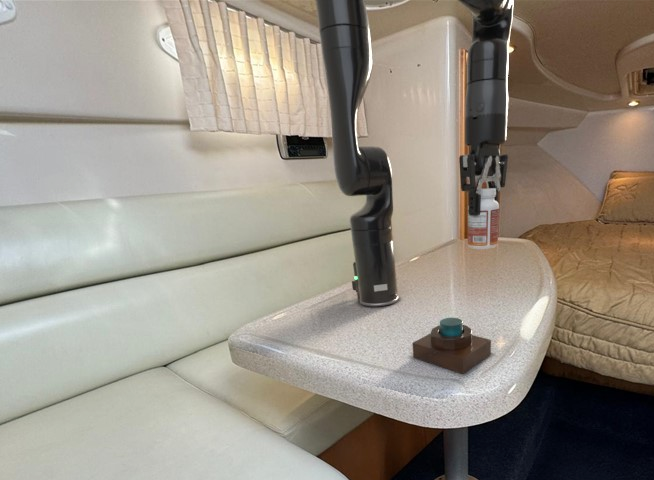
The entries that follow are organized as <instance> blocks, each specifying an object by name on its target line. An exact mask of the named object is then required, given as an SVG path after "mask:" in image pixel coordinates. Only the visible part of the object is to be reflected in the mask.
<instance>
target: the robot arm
mask: <svg viewBox="0 0 654 480" xmlns="http://www.w3.org/2000/svg"><path fill="white" fill-rule="evenodd" d="M457 1H458V2H459V3H460V4H462V5H463V7H465V8H466V9H467V10H468V11H470V13H471V19H472V25H471V27H472V28H471V29H472V30H471V44H470V46H469V47H468V50H467V57H466V91H465V92H466V94H465V100H464V101H465V102H464V144H465V146H467V147H470V149H469V154H462V155H459V158H458V160H459V161H458V163H459V177H460V190H461V192H466V195H468V206H469V215H473V216H477V215H480V206H481V194H480V192H481V189H483V184H484V183H485V185H486V189H488V188H495V189H496V195H495V197H494V200H495V201H497V202H498V203H499V192H500V191H501V189H502V188H505V187H506V182H507V181H506V179H507V172H508V171H507V169H508V160H509V156H508V153H507V154H501V152H500V145H504V144H505V143H506V141H507V130H508V128H507V127H508V109H509V91H508V77H509V76H508V75H509V44H510V37H511V29H512V23H513V14H514V0H457ZM315 6H316V7H315V8H316V15H317V22H318V23H317V24H318V33H319V40H320V48H321V55H322V62H323V67H324V72H325V73H324V74H325V80H326V88H327V95H328V96H327V97H328V105H329V112H330V126H331V141H332V157H333V170H334V175H335V180H336V183H337V186H338V188H339V190H340V191H341V193H342V194H343V195H345V196H346V197H360V196H361V197H363V196H365V197H366V198H365V203H364V204H363V206H362V207H361V208H360V209H359V210H358V211H356V212H354V213H352V214H351V215H350V217H349V226H350V232H351V240H352V248H353V256H354V262H353V263H352V267H353V274H354V280H352V281H351V287H352V291H355V292H356V296H357V301H358V302H359V304H360V305H362V306H365V307H373V308H374V307H387V306H389V305H392V304H395V303H397V302H398V301H399V295H398V283H397V282H398V281H397V270H396V260H395V247H394V236H393V224H392V219H393V215H394V214H393V213H394V198H393V197H394V196H393V193H394V192H393V191H394V190H393V172H392V165H391V161H390V158H389V155H388V153H387V152H386V151H385V150H384V148H382V147H380V146H359V145H358V130H357V125H358V123H357V122H358V114H359V110H360V106H361V104H362V101H363V99H364V96H365V94H366V92H367V88H368V86H369V83H370V80H371V77H372V73H373V67H374V57H373V45H372V35H371V26H370V20H369V15H368V11H367V7H366V3H365V0H315ZM467 181H468V183H467ZM478 194H480V195H478Z"/></svg>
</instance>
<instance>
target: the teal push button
mask: <svg viewBox="0 0 654 480" xmlns="http://www.w3.org/2000/svg"><path fill="white" fill-rule="evenodd" d="M463 322H464V321H463V319H461V318H458V317H446V318H443V319H441V320H439V325H440V334H441V335H444V336H458V335H461V334H462V333H463V325H464V323H463Z"/></svg>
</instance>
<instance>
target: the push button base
mask: <svg viewBox="0 0 654 480" xmlns="http://www.w3.org/2000/svg"><path fill="white" fill-rule="evenodd" d="M491 352H492V339H489V338H485V337H481V336H477V335H473V329H472V328H471V327H469V326H468V325H465V324H463V333H462V334H461V335H458V336H444V335H441V334H440V324H439V325H437V326H434V327H433V328H432V329H431V331H430V333H428V334H427V335H425V336H423V337H421V338H419V339H416V340H415V341H413V342H412V354H413V355H412V356H413V358H414V359H416V360H420V361H423V362H426V363H428V364H431V365H435V366H438V367H441V368H444V369H446V370H450V371H452V372H454V373H455V372H456V373H458V374H461V375H464V374H466V373H467V372H468V371H470V370H471V369H473V368H474V367H475V366H477V365H478V364H480V363H481V362H483V361H484V360H486V359H487V358H489V356H491Z"/></svg>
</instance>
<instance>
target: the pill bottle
mask: <svg viewBox="0 0 654 480" xmlns="http://www.w3.org/2000/svg"><path fill="white" fill-rule="evenodd" d="M480 194H481V206H480V215H477V216H473V215H469V205H468V206H467V246H468V248H470V249H472V250H473V249H474V250H489V249H494V248H497V246H498V245H499V221H500V203H499V201H498V202H497V201H495V200H494V197H495V195H496V189H495V188H488V189H487V188H481V192H480ZM480 194H478V195H480Z"/></svg>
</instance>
